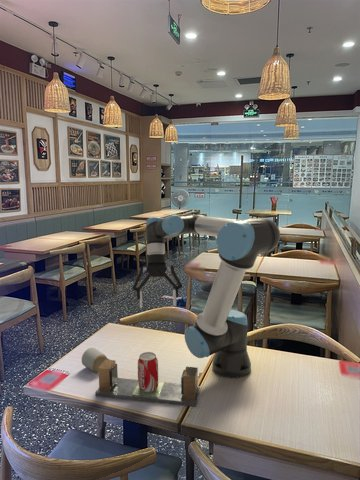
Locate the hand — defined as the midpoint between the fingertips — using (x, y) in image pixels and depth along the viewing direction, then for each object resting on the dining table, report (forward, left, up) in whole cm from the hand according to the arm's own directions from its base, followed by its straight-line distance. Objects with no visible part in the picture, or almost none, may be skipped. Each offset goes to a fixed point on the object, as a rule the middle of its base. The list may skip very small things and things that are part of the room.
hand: (158, 307), depth 141 cm
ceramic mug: (+23, +8, -24) cm, 34 cm away
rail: (-1, +22, -24) cm, 32 cm away
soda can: (-1, +21, -22) cm, 31 cm away
